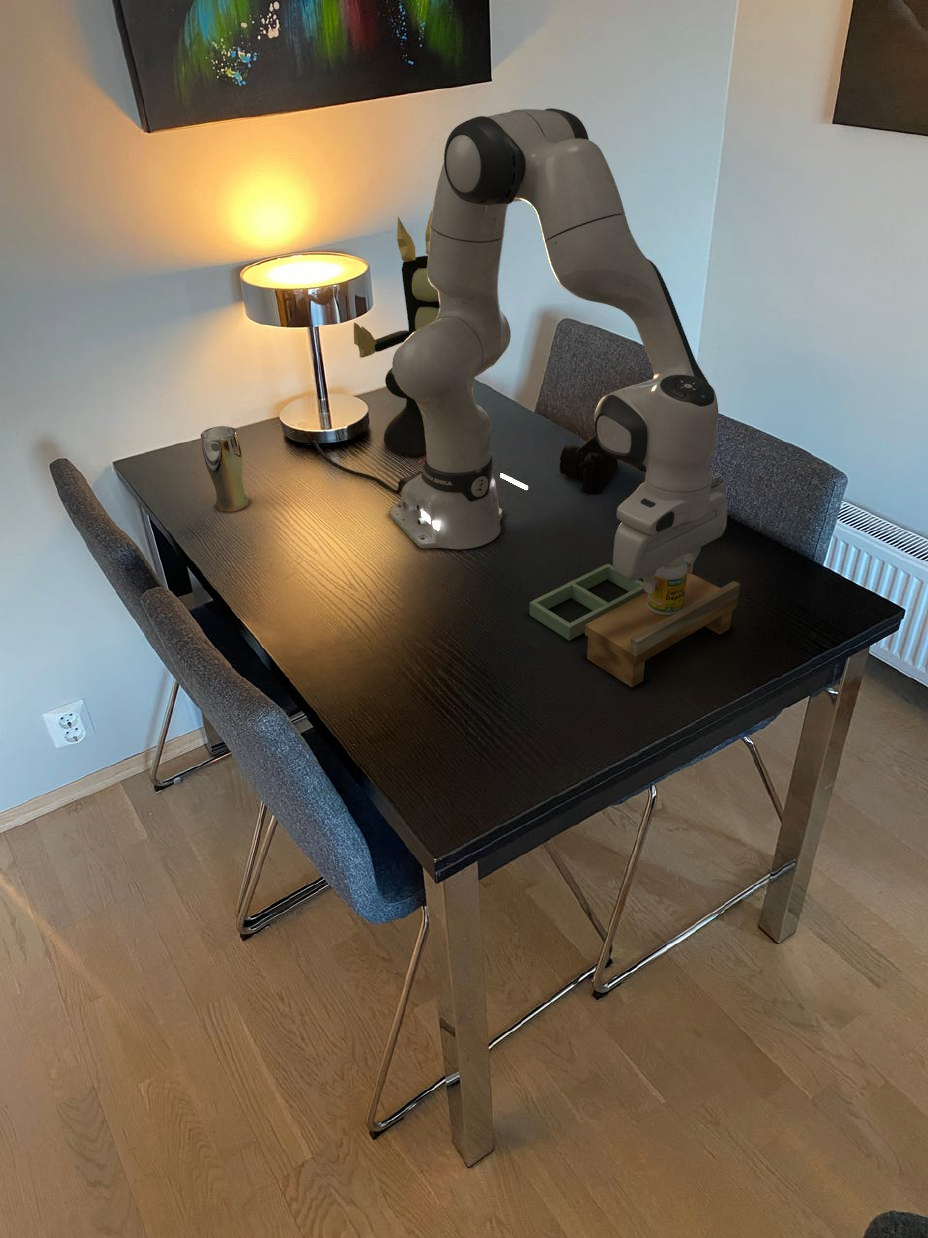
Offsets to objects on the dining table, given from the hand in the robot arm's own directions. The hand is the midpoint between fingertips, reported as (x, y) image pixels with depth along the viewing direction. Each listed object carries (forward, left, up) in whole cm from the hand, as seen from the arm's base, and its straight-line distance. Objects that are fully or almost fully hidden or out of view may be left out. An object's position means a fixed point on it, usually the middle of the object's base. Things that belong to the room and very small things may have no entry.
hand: (667, 581), depth 137 cm
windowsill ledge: (0, -1, -10) cm, 10 cm away
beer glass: (-85, -29, -11) cm, 90 cm away
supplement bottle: (0, 0, -5) cm, 5 cm away
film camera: (-47, +30, -11) cm, 56 cm away
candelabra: (-84, +17, -11) cm, 86 cm away
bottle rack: (-14, -2, -10) cm, 17 cm away
